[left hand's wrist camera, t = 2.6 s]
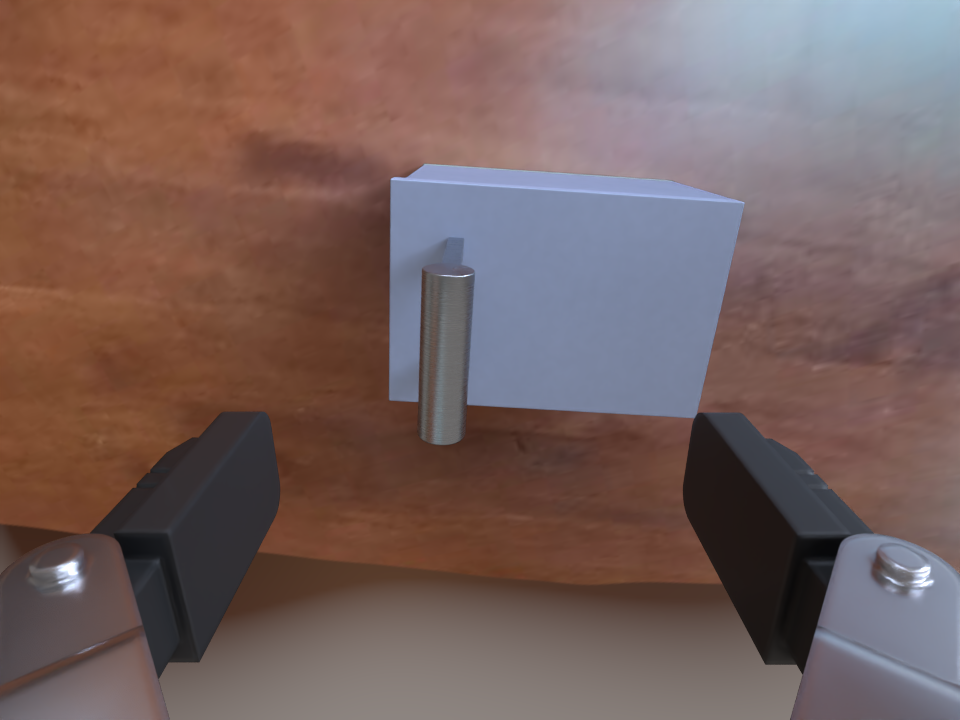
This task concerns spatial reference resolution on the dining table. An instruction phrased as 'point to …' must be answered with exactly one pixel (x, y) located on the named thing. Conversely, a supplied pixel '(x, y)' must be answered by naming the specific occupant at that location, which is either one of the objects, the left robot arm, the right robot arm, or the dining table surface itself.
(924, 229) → the dining table surface
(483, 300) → the grey box lid
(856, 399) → the dining table surface
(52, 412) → the dining table surface
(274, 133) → the dining table surface
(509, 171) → the chest
